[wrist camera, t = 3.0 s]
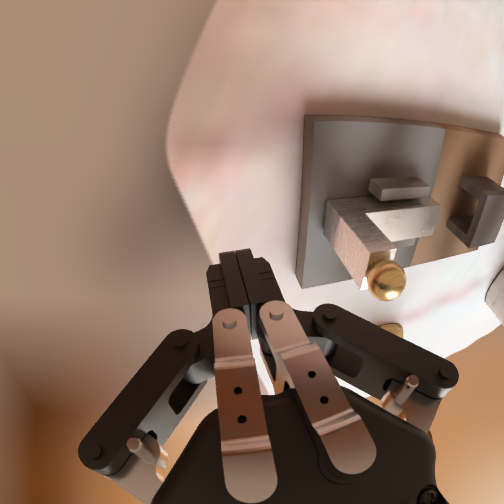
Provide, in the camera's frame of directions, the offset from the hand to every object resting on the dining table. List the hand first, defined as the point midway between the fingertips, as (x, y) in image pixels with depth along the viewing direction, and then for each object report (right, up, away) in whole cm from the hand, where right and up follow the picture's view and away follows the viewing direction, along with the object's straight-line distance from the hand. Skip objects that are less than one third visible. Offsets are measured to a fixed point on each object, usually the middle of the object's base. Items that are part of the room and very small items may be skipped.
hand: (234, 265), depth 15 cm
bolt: (+9, +3, +4) cm, 11 cm away
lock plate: (+14, +5, +6) cm, 16 cm away
